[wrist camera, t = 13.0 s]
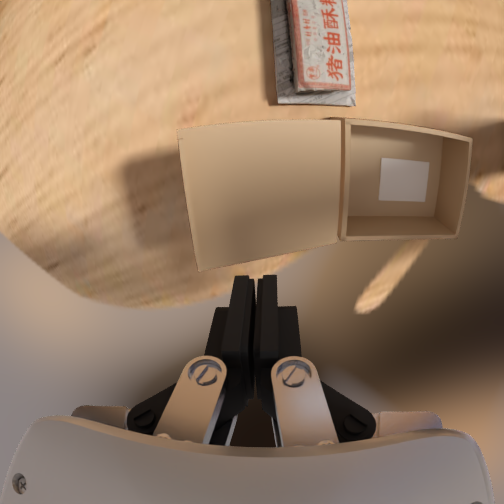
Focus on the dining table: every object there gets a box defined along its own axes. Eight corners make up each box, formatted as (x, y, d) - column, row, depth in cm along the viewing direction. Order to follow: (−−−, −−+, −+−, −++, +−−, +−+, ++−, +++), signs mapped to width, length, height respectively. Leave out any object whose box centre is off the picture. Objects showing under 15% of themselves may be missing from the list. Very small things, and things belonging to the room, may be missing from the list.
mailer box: (443, 130, 29) (472, 138, 23) (434, 218, 36) (457, 238, 30) (329, 117, 30) (345, 118, 24) (328, 218, 37) (340, 241, 31)
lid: (177, 130, 19) (176, 129, 21) (199, 279, 26) (197, 269, 27) (348, 121, 23) (337, 120, 24) (343, 248, 29) (334, 241, 31)
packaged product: (268, -29, 18) (352, -22, 17) (267, -14, 22) (342, -9, 21) (278, 103, 26) (366, 106, 26) (276, 104, 31) (353, 107, 30)
